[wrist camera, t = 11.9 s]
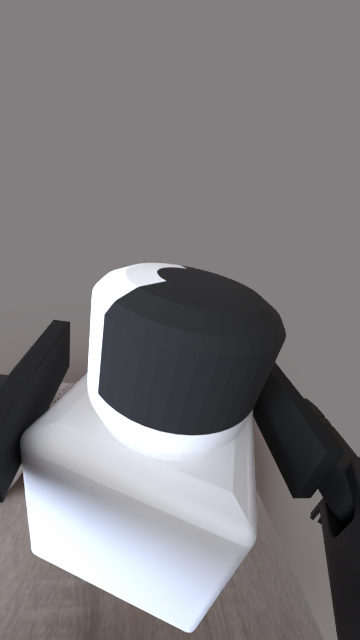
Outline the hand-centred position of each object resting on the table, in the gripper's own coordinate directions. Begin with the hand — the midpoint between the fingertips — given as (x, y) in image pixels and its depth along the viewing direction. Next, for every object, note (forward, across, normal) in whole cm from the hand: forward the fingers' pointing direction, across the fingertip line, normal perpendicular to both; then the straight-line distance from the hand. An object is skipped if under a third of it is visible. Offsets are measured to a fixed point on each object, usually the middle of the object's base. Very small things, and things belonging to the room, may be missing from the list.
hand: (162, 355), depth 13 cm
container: (-3, 0, -8) cm, 8 cm away
